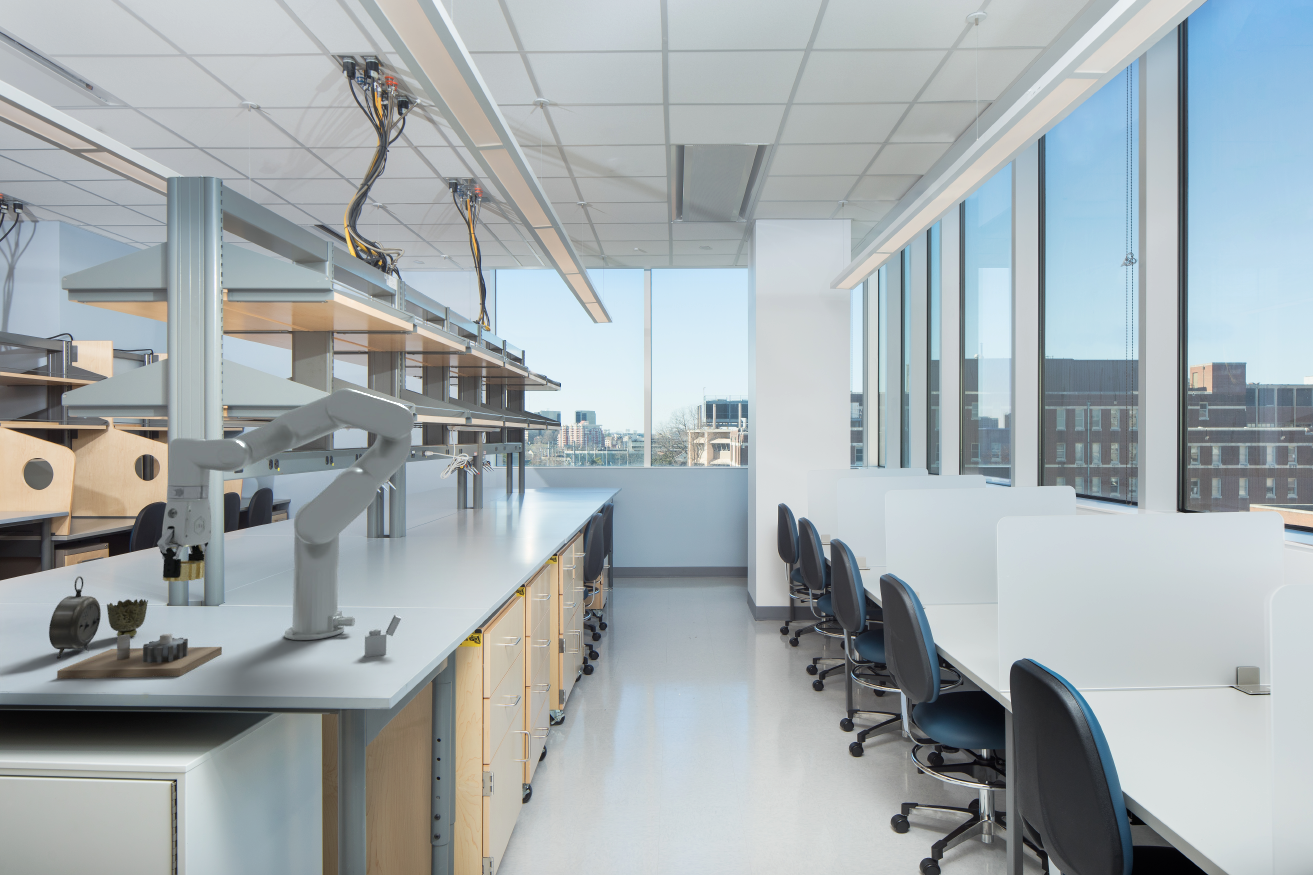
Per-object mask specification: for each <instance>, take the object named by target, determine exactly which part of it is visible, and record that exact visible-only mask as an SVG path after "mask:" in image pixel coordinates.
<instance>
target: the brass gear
mask: <svg viewBox="0 0 1313 875" xmlns="http://www.w3.org/2000/svg"><path fill="white" fill-rule="evenodd" d="M204 576H205V560H204V561H202V560H200V561H196V560H189V561H188V559H186V560H185V559H184V560H181V569H180V577H179V578H164V577H163V576H162V580H163V581H164V582H173V583H174V582H185V581H187V582H188V581H195V580H202V578H203V579H204Z"/></svg>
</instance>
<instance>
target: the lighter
mask: <svg viewBox="0 0 1313 875" xmlns="http://www.w3.org/2000/svg"><path fill="white" fill-rule="evenodd" d="M401 620H402V616H400V615H397V614H394V615H393V617H392V618H391V621H390V623H389V625H388V626H387V629H386V630H385V632H382V630H381V628H377V629H371V630H369V631H368V634H364V657H365V658H368V657H376V656H377V657H378V656H384V655H385V656H386V655H387V635H388V636H391V637H393V636H394V634H395V632H396V630H397V628H398V626H399V624H400V621H401Z"/></svg>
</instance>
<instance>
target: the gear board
mask: <svg viewBox="0 0 1313 875" xmlns="http://www.w3.org/2000/svg"><path fill="white" fill-rule="evenodd" d="M116 642H117V644H116V645H117V647H116V648H110V649H108V650H106V651H103V652H100V653H97V654H95V655H92V656H90V657H88V658H85V659H83V660H81V661H78V662H76V663H73V664H71V665H67V666H65V667H63V668H61V669H59V670H58V669H57V671H56V673H57V674H56V679H59V680H64V679H100V678H101V679H103V678H104V679H106V678H107V679H108V678H144V677H145V678H147V677H148V678H149V677H150V678H154V677H158V678H159V677H182V676H183V675H185V674H188V672H190V671H192V670H195V669H196V668H198V667H200V666H201V665H203V664H206V663H208V662H209V661H211V660H213V659H215V658H216V657H219V656H220V655H222V653H223V652H222V651H223V647H222V646H197V647H196V646H195V647H194V646H193V647H190V646H189V639H188V638H184V637H178V638H175V637H173V634H172V633H163V634H161V635H159V639H158V640H155V641H153V640H152V641H149V642H148V643H144V644H143V646H142V647H140V648H138V647H136V648H135V647H134V648H132V647H131V637H130V635H120V636H117V640H116Z"/></svg>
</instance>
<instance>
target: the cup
mask: <svg viewBox="0 0 1313 875" xmlns="http://www.w3.org/2000/svg"><path fill="white" fill-rule="evenodd" d="M148 602H149V601H148V599H147V600H146V599H142V598H141V599H139V600H138V599H137V598H136V599H134V600H133V601H132V600H131V599H126V600H124V601H122V600H117V604H113V603H112V602H110V603H109V604H108V603H107V604H106V608H107V616H108V623H109V626H110V628H111V629H112V630H113V631H116V632H117V633H116V636H117V637H118V636H120V635H130V638H132V637H133V638H134V636H136V635H137V633H138V630H137V629H139V628H140V627H141V626H142V625H143V624H144V622H145V620H146V614H147V608H148Z"/></svg>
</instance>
